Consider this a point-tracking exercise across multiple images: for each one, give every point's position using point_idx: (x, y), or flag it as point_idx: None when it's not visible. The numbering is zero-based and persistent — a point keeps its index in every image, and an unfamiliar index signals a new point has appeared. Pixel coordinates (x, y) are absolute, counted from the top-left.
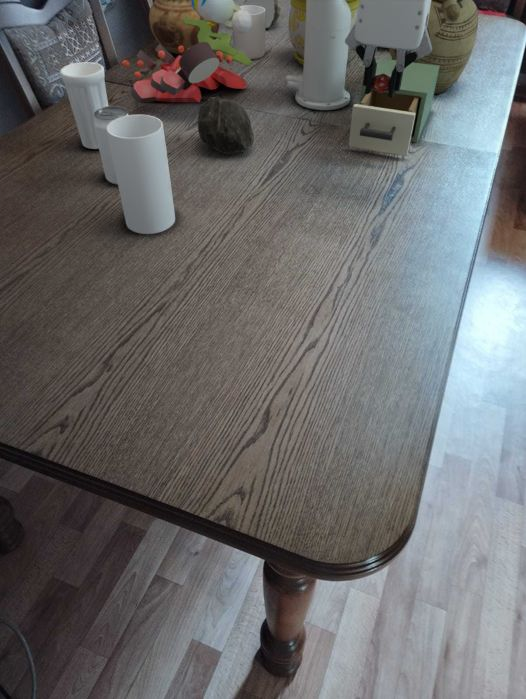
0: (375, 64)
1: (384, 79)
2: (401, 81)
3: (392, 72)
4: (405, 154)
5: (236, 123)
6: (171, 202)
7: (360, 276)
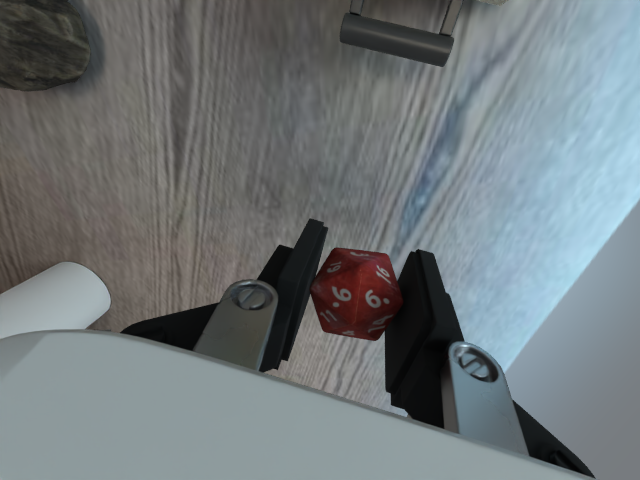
0: (296, 311)
1: (359, 334)
2: (452, 308)
3: (390, 392)
4: (498, 4)
5: (1, 54)
6: (83, 313)
7: (352, 384)
